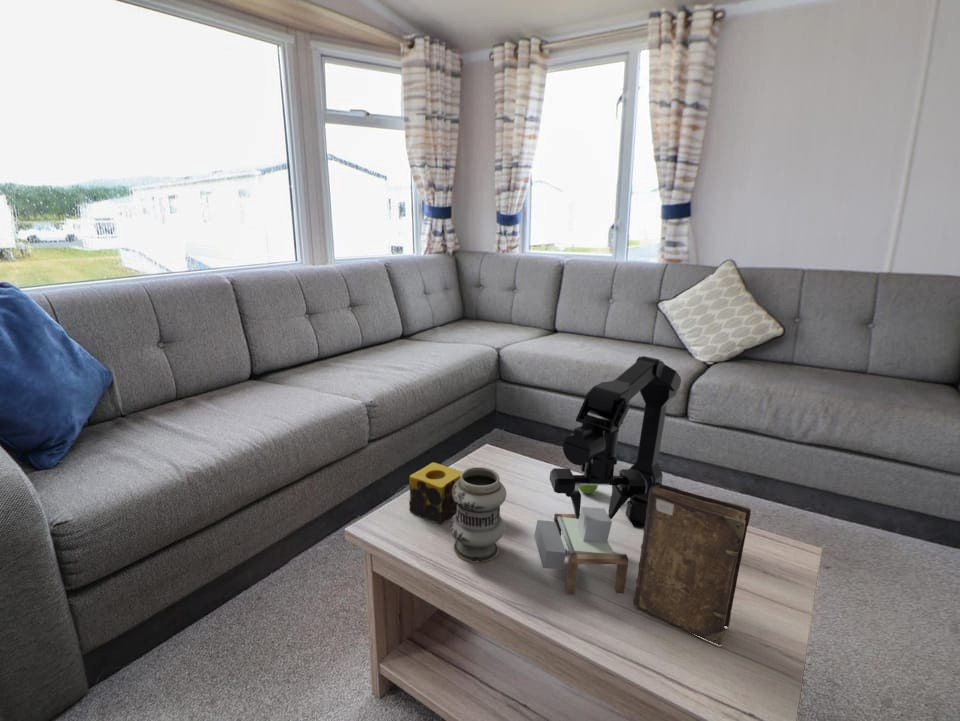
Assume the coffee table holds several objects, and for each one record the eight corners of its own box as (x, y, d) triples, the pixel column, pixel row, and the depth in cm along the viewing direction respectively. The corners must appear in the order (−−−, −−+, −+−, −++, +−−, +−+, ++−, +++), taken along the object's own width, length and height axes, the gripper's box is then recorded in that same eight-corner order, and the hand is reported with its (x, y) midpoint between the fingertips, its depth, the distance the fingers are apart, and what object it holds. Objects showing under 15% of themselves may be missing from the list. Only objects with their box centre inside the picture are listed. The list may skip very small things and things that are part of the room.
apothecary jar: (451, 567, 109) (454, 490, 105) (446, 534, 121) (448, 463, 116) (508, 564, 111) (513, 488, 107) (497, 531, 123) (502, 461, 118)
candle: (465, 508, 132) (466, 472, 130) (441, 526, 124) (442, 488, 122) (433, 495, 138) (433, 460, 135) (408, 512, 129) (408, 475, 127)
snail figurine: (602, 491, 144) (607, 451, 141) (590, 499, 139) (594, 458, 136) (585, 484, 147) (589, 445, 144) (572, 492, 143) (576, 451, 140)
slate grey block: (599, 529, 112) (604, 508, 111) (606, 543, 107) (611, 521, 106) (577, 527, 112) (581, 506, 110) (583, 541, 107) (588, 519, 105)
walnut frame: (601, 545, 120) (605, 514, 117) (623, 593, 104) (628, 559, 102) (551, 545, 119) (554, 513, 117) (566, 593, 103) (570, 558, 101)
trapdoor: (592, 539, 117) (597, 520, 116) (609, 576, 105) (614, 554, 104) (533, 534, 116) (537, 514, 114) (543, 570, 104) (548, 548, 102)
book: (628, 605, 101) (645, 489, 94) (643, 587, 106) (660, 475, 100) (719, 652, 91) (745, 525, 84) (730, 629, 96) (755, 508, 90)
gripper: (633, 433, 113) (624, 498, 117) (547, 431, 111) (542, 497, 115) (652, 456, 102) (642, 526, 106) (558, 454, 101) (551, 526, 105)
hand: (593, 518), depth 108 cm, fingers open, 7 cm apart
